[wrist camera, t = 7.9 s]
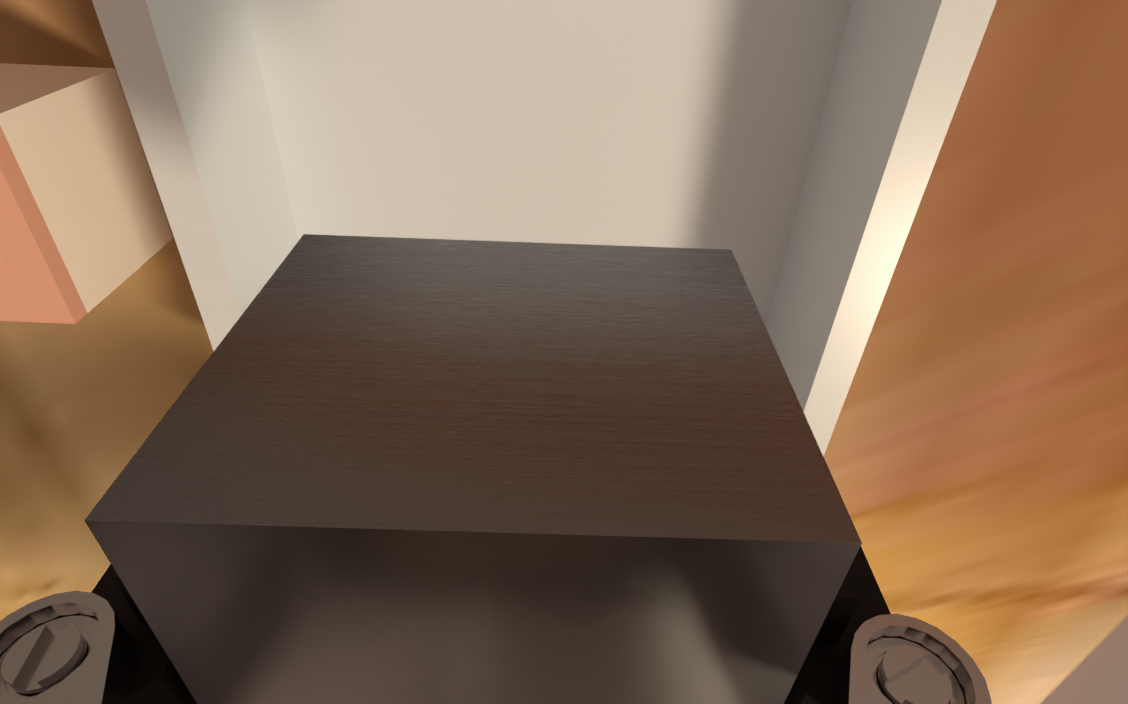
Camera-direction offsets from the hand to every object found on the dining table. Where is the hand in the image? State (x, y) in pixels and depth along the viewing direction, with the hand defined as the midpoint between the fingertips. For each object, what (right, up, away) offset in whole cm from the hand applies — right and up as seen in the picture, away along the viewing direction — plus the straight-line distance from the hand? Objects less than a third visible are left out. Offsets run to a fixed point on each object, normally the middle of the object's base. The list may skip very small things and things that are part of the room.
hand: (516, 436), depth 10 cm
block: (0, 0, 0) cm, 1 cm away
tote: (0, +8, +12) cm, 14 cm away
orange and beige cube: (-17, +8, +12) cm, 22 cm away
